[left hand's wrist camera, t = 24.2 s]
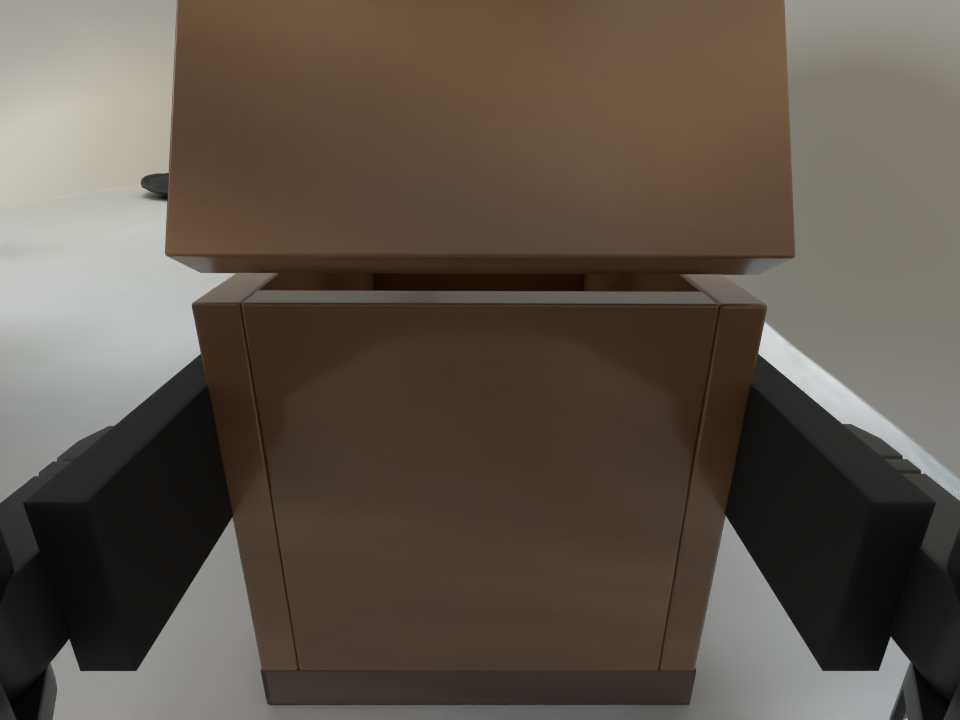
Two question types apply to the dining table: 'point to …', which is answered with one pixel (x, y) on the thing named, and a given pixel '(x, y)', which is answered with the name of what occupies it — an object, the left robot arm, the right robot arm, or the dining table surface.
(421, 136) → the lid
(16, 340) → the dining table surface
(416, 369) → the chest
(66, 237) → the dining table surface
